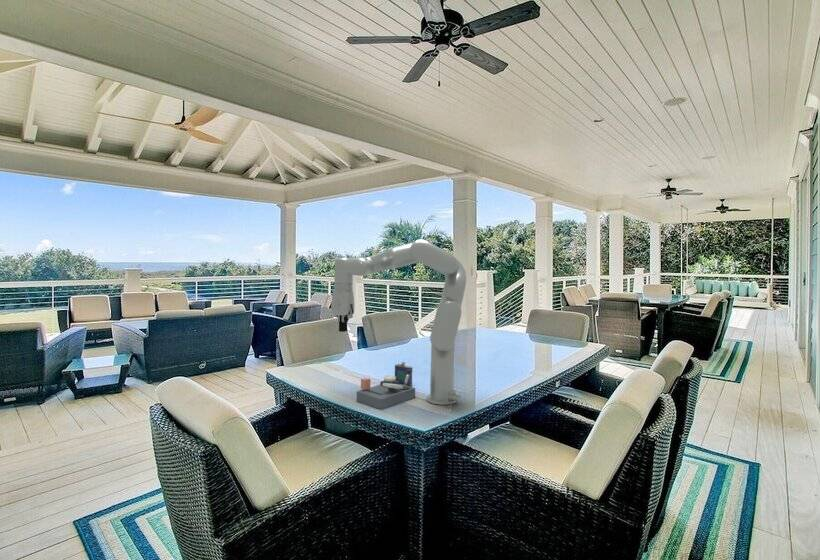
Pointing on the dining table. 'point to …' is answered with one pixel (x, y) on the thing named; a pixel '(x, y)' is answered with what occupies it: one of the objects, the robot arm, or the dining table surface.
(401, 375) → the flask
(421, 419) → the dining table surface
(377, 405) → the grey low block
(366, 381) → the slider knob
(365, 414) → the dining table surface
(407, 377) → the toggle lever
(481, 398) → the dining table surface
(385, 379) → the push button
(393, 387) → the rocker
